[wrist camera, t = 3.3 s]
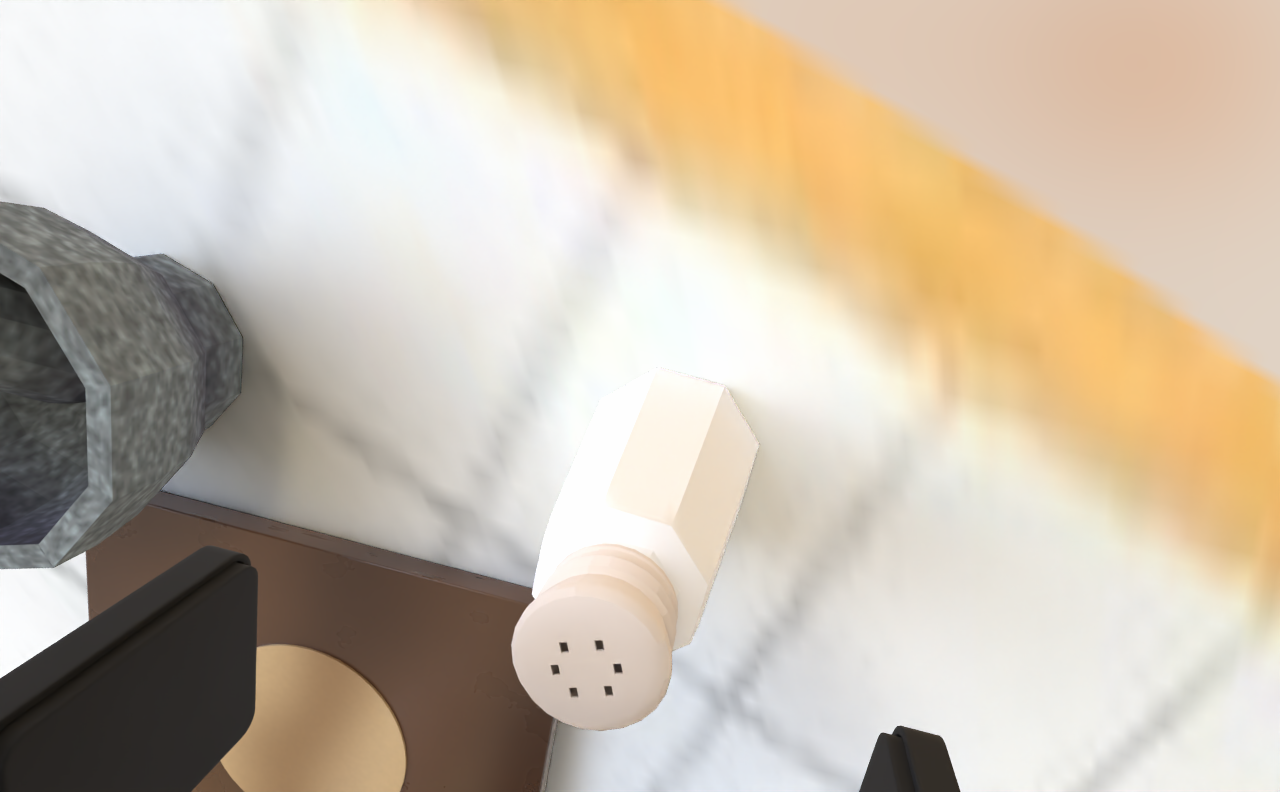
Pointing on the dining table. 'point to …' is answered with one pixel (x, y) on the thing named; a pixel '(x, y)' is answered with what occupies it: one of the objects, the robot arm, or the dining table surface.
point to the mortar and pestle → (97, 382)
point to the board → (354, 659)
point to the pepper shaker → (633, 549)
